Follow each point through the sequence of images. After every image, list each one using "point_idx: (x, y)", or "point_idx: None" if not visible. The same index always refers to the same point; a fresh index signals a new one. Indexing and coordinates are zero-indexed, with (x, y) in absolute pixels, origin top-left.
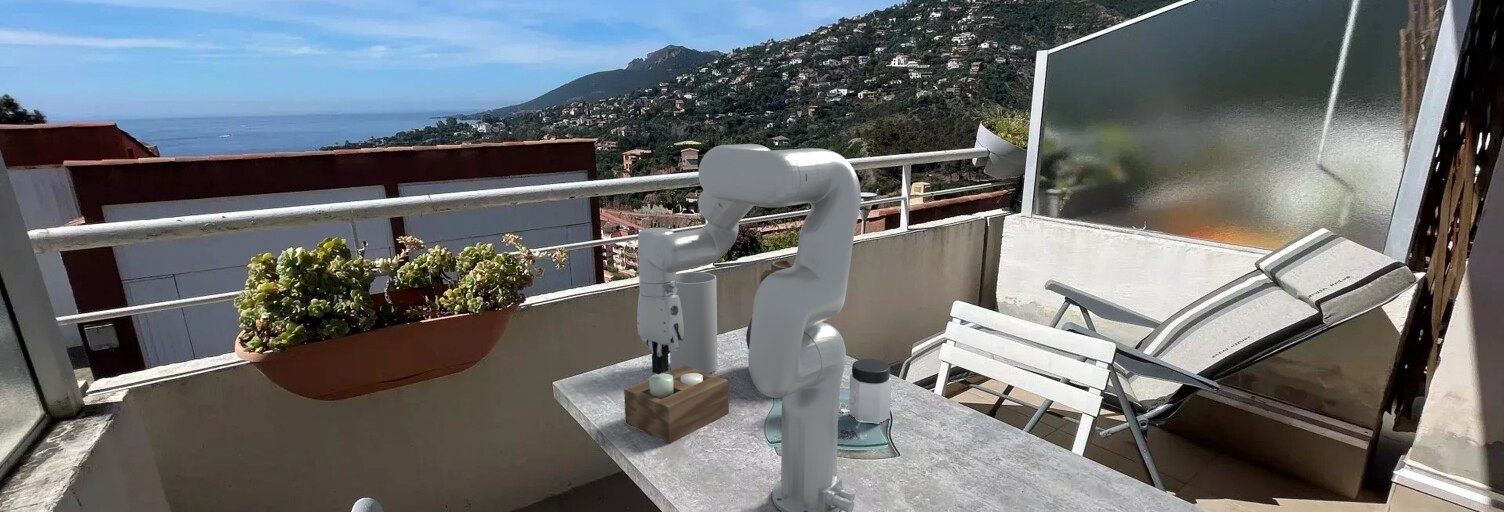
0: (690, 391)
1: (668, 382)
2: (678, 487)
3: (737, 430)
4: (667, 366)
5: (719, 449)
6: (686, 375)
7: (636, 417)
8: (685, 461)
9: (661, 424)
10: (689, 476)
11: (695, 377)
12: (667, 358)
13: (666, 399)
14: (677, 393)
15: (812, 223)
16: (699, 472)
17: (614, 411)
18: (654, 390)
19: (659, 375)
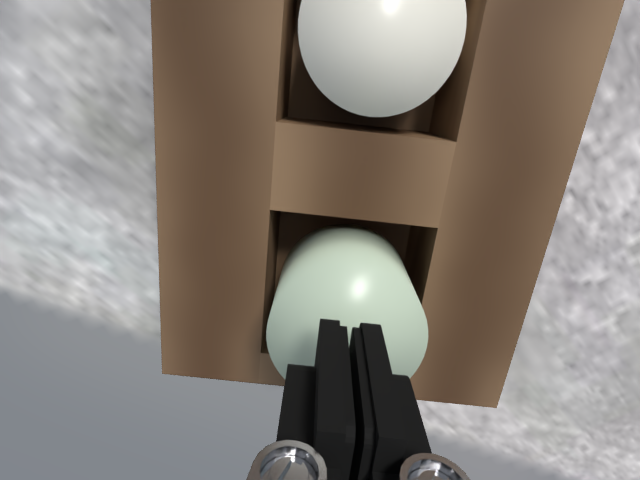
0: (495, 211)
1: (422, 348)
2: (600, 455)
3: (634, 93)
4: (409, 384)
5: (625, 253)
6: (326, 24)
7: None
8: (552, 361)
9: None
10: (603, 410)
11: (409, 16)
12: (426, 440)
13: (433, 353)
14: (441, 272)
15: None
16: (622, 384)
17: (98, 239)
18: None
19: (306, 315)
